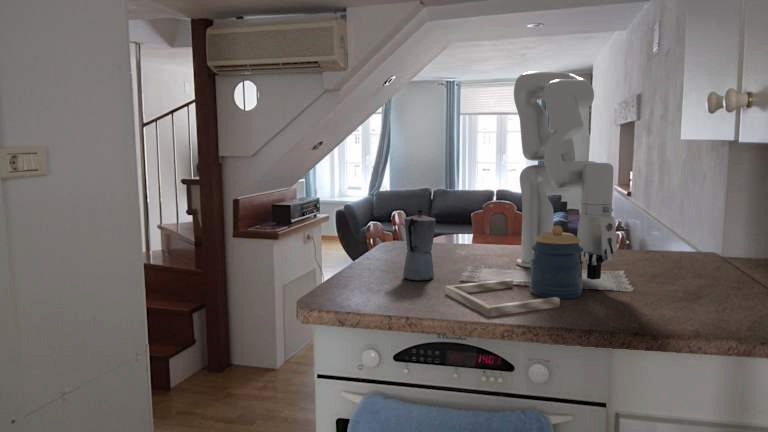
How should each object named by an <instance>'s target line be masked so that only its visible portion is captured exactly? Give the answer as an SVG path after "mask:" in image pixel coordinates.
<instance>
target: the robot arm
mask: <svg viewBox="0 0 768 432" xmlns="http://www.w3.org/2000/svg"><path fill="white" fill-rule="evenodd" d="M594 99H595V90H594V87H593V85H592V84H591V83H590V81H588V80H587V79H585V78H583V77H580V76H578V75H576V74H574V73H570V72H568V71H541V70H540V71H539V70H536V71H528V72H524V73H522V74H520V75H518V77H517V78H516V80H515V83H514V87H513V100H514V103H515V108H516V110H517V113H518V118H519V126H520V138H521V139H520V140H521V149H522V150H521V151H522V155H523V156H524V157H523V158H525V159H526V160H527V161H532V162H533V161H534V162H540V161H541V162H544V164H533V165H528V166H526V167H524V168H523V169H522V170H521V172H520V175H519V185H520V192H521V205H522V206H521V209H522V210H521V255H520V256H521V257H519V258H517V259H515V260H516V262H515V263H516V265H518V266H520V267H523V268H524V267H525V268H529V269H531V261H530V259H531V258H532V255H533V251H532V250H531V246H532V245H534V244H535V243H536V241H535V240H534V238H535V237H537V236H538V235H540V234H541V233H545V232H552V228H553V227H554V216H555V215H554V206H553V205H552V203H551V201H550V200H549V198H548V196H556V195H557V196H558V195H569V194H571V193H573V191H574V190H575V189H580V190H581V205H580V207H581V208H580V215H579V217H578V218H579V220H578V226H577V235H576V237H577V238H579V239H580V242H579V246H581V247H582V248H583V249H584V251H583V252H582V253H581V256H583V257H584V258H585V263H586V264H587V266H586V267H587V268H586V278H587V279H588V280H592V281H594V280H600V279H601V277H602V265H603V264H604V262H605V261H611V260H612V255H613V254H614V255H615V253H616V252H617V229H616V222H615V217H614V215H612V214H613V211H614V208H613V194H614V193H613V192H614V191H613V189H614V188H613V187H614V166H613V165H612V164H611V163H608V162H598V161H594V160H593V161H592V160H576V156H575V155H576V154H575V153H576V152H575V143H574V140H573V138H574V137H575V136H576V135H577V136H578V134H579V133H581V132H582V131H583V129H584V121H583V118H582V115H581V111H580V110H585V109H588V108H589V107H591V106H592V105H593V101H594ZM538 100H539V101H540V100H541V101H544V105H545V108H546V110H545V109H544V107H543V106H542V105H541V104H540V103H539V101H538ZM549 123H550V127H551V129H550V128H549Z"/></svg>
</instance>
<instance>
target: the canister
mask: <svg viewBox="0 0 768 432" xmlns="http://www.w3.org/2000/svg"><path fill="white" fill-rule="evenodd" d="M534 240H535V241H536V243H535V244H534V245H532V246H531V250H532V251H533V255H532V258H531V259H530V261H531V268H530V281H529V288H530V289H529V290H530V292H531V293H532V294H534V295H535V296H538V297H542V298H552V297H557V298H560V300H567V299H568V300H569V299H574V298H575V299H576V298H578V297H580V296H582V295H581V294H582V291H583V283H582V281H583V265H584V261H583V260H582V254H581V253H582V252H583V251H584V249H583V248H582V247H581V246H579V242H580V239H579V238H577V235H575V234H573V233H570V232H564V230H563V227H562V226H561V225H558V224H557V225H553V228H552V232H545V233H541V234H540V235H538V236H537V237H535V238H534Z"/></svg>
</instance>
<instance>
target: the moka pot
mask: <svg viewBox="0 0 768 432" xmlns="http://www.w3.org/2000/svg"><path fill="white" fill-rule="evenodd" d="M423 213H424V210H423V209H417V215H412V216H411V215H410V216H407V217H404V229H405V231H404V232H405V240H406V241H405V242H406V251H407V252H406V255H405V262H404V268H403V273H402V277H403V278H404V279H406V280H411V281H430V280H433V279H434V278H435V271H434V262H433V254H432V249H433V244H434V237H435V231H436V222H437V220H436V218H434V217H430V216H428V215H427V216H426V215H423Z"/></svg>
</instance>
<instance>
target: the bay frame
mask: <svg viewBox="0 0 768 432" xmlns="http://www.w3.org/2000/svg"><path fill="white" fill-rule="evenodd" d="M513 282H514V281H513V279H511V278H505V279H504V278H503V279H496V280H495V279H494V280H489V281H487V280H486V281H480V282H472V283H471V282H470V283H461V284H459V283H458V284H453V285H452V284H451V285H445V287H444V289H445V292H444V294H445V295H447V296H448V297H451V298H452V299H454V300H456V301H458V302H460V303H462V304H464V305H465V306H467V307H469V308H471V309H473V310H474V311H477V312H479V313H480V314H482V315H484V316H486V317H495V316H501V315H508V314H516V313H524V312H531V311H538V310H544V309H545V310H546V309H553V308H560V301H561V299H560V298H557V297H552V298H546V297H543V298H537V299H529V300H522V301H514V302H507V303H499V304H492V305H491V304H490V303H489V304H488V303H486V302H485V301H482V300H480V299H478V298H477V297H474V296H472V295H470V294H469V293H477V292H486V291H494V290H500V289H502V290H503V289H510V288H513V287H514V285H513Z"/></svg>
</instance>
